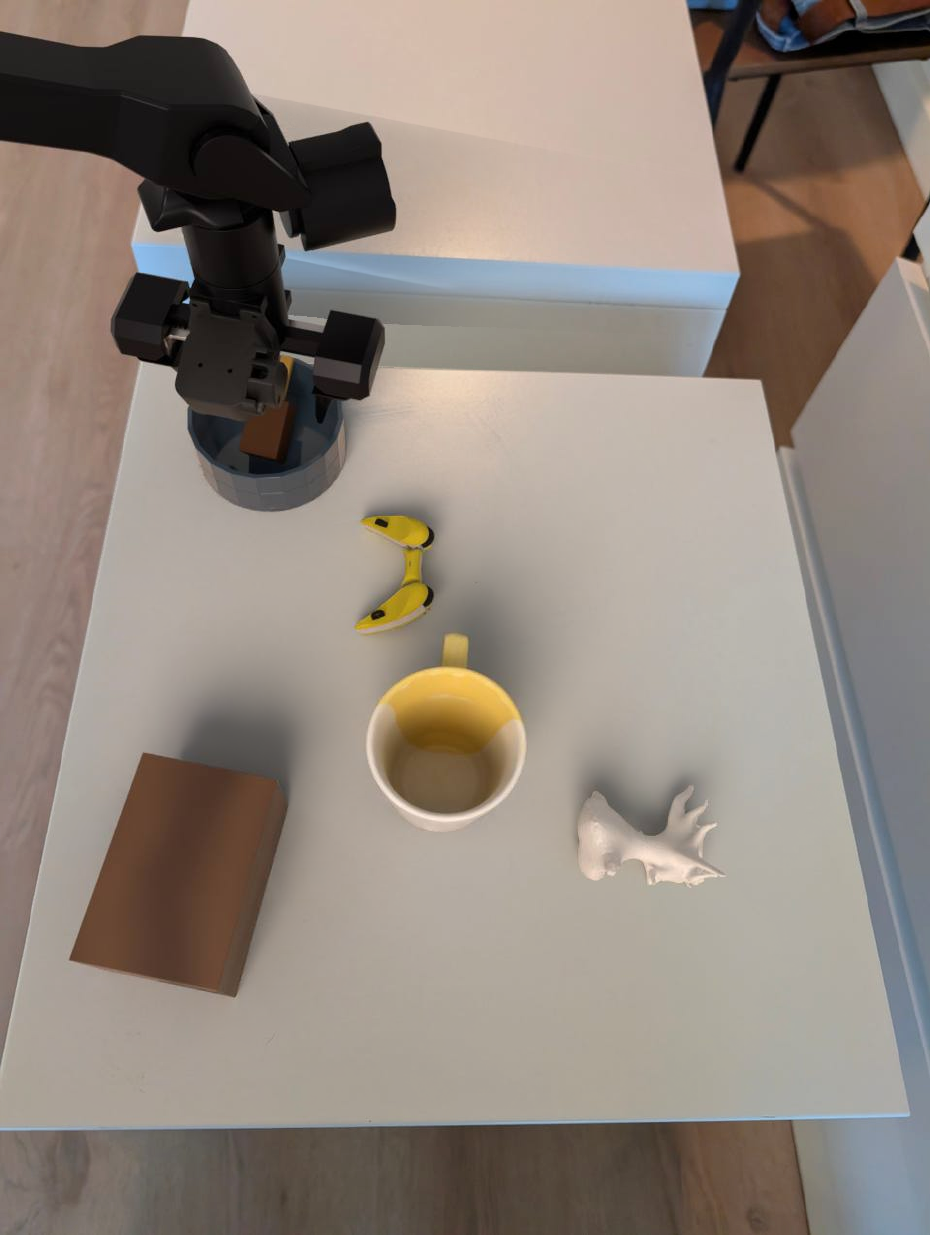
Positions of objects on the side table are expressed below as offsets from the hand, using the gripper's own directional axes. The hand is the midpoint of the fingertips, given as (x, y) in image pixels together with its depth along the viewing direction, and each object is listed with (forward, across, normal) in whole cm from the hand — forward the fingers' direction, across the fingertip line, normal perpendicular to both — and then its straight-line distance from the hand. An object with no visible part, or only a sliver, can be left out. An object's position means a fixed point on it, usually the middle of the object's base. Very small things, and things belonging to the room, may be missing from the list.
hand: (265, 408), depth 74 cm
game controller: (+6, +13, -10) cm, 17 cm away
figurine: (+6, +35, -27) cm, 45 cm away
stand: (+6, +5, -36) cm, 37 cm away
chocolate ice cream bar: (+3, 0, +2) cm, 4 cm away
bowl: (+6, 0, 0) cm, 6 cm away
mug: (+6, +20, -24) cm, 32 cm away
